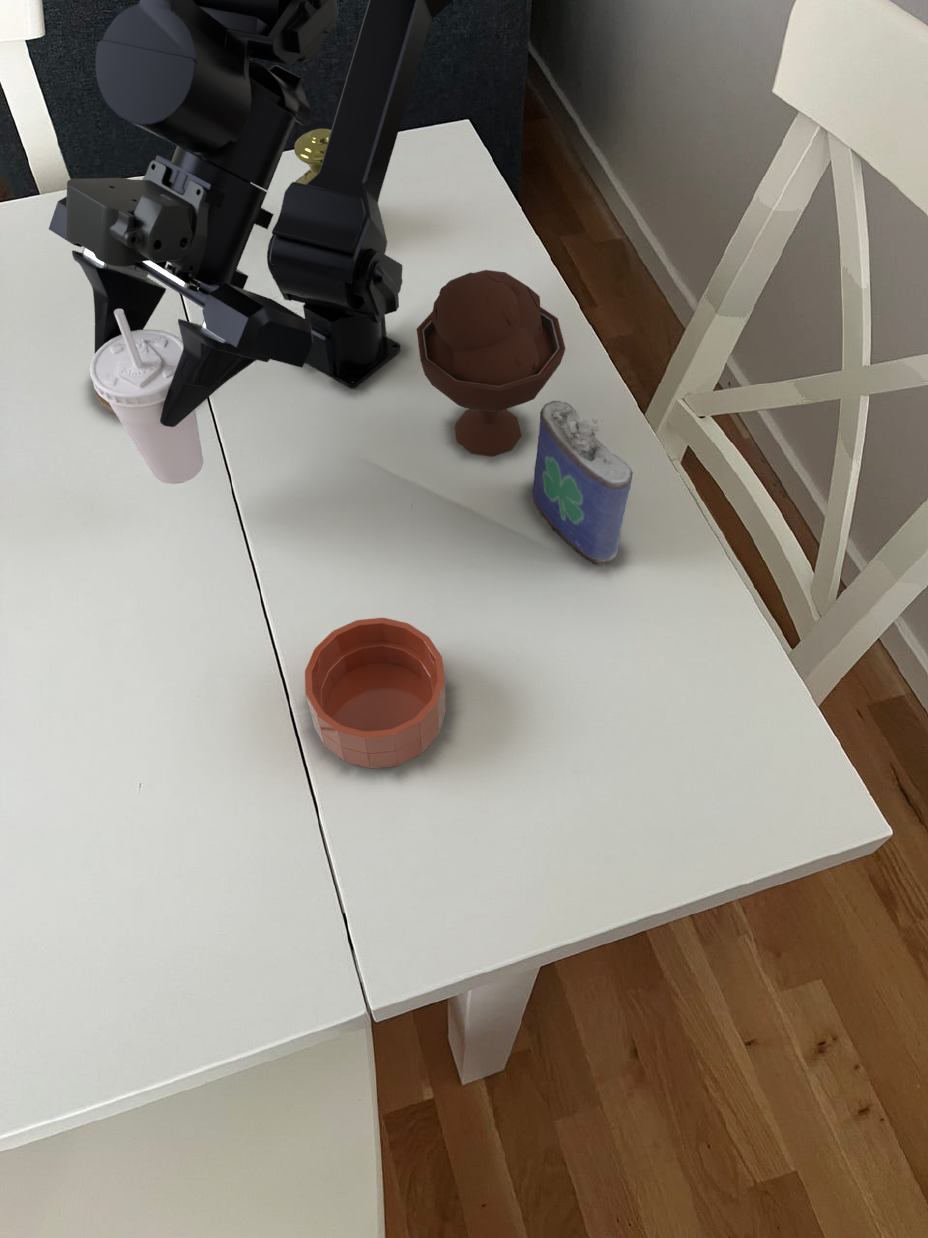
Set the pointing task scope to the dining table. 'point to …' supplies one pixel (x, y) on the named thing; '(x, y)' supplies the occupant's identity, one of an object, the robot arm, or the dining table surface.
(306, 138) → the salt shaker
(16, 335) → the dining table surface
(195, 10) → the robot arm
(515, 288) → the ice cream bowl
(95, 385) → the smoothie
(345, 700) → the bowl
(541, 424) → the flask
